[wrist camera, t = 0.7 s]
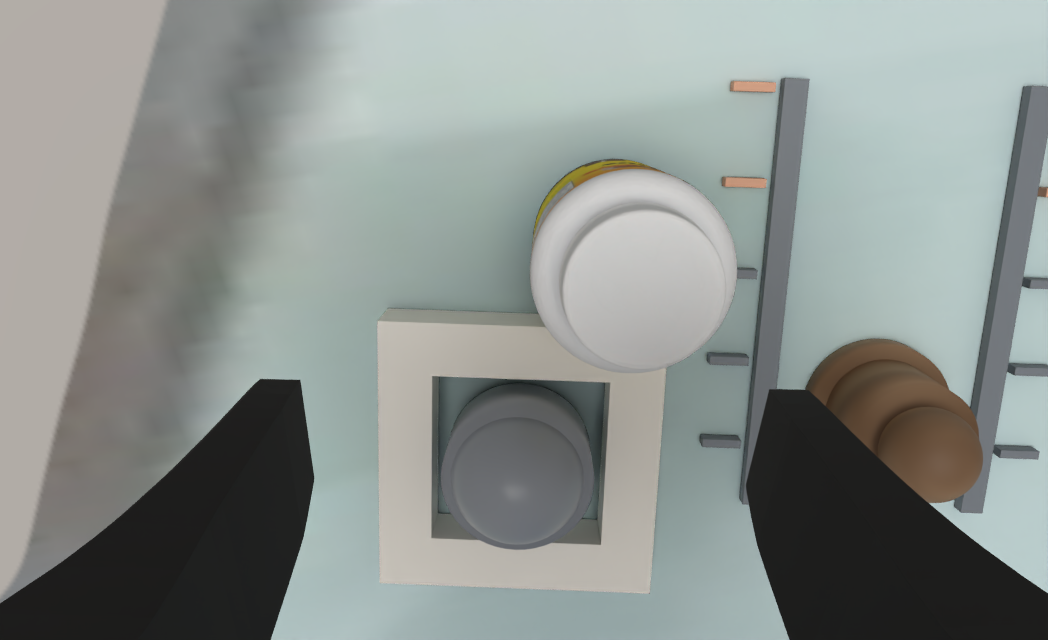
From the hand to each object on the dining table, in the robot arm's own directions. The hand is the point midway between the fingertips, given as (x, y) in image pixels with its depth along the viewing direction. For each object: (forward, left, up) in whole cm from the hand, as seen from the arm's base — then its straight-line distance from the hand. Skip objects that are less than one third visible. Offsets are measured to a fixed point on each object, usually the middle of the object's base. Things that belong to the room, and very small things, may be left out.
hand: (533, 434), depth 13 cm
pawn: (-5, -13, -18) cm, 22 cm away
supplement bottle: (+1, -3, -18) cm, 18 cm away
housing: (-7, 0, -18) cm, 19 cm away
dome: (-7, 0, -17) cm, 18 cm away
